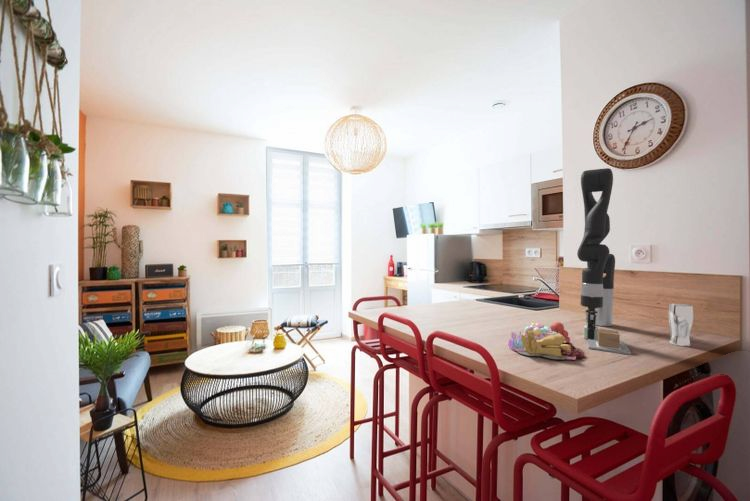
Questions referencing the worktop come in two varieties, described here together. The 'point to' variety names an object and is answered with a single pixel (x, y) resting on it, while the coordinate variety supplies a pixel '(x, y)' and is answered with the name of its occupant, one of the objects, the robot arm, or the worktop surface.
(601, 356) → the worktop surface
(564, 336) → the candy landscape model
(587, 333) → the sage cube
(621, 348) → the pad
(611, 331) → the walnut block
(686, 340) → the beer glass
